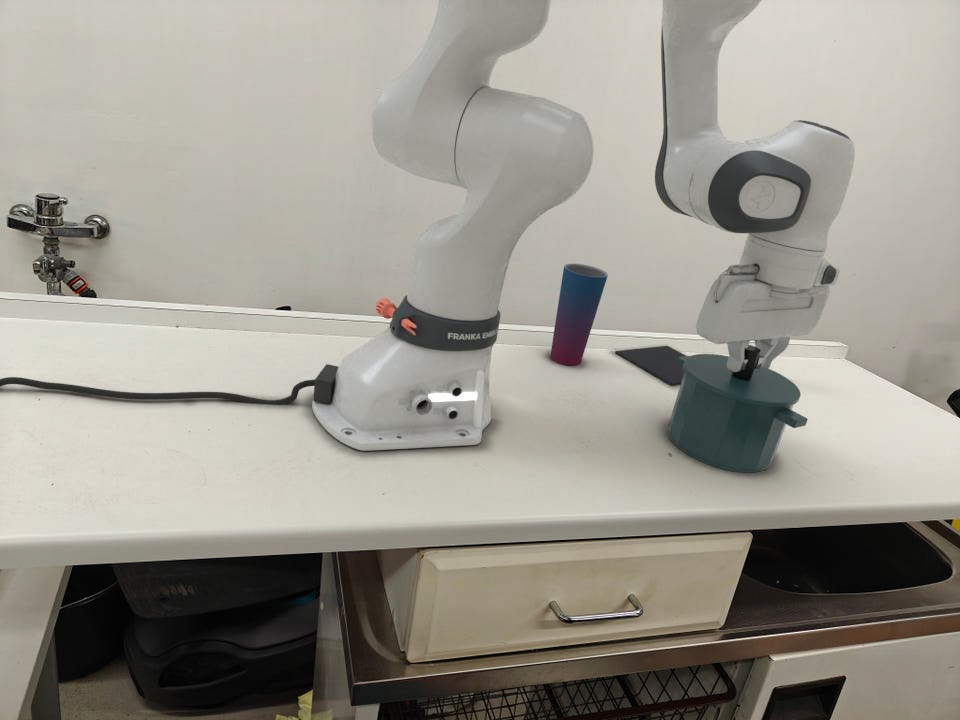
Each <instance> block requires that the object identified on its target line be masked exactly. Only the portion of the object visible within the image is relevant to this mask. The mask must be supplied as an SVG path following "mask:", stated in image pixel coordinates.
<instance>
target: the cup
mask: <svg viewBox="0 0 960 720" xmlns="http://www.w3.org/2000/svg"><path fill="white" fill-rule="evenodd" d="M608 276H609V274H608V273H607V271H605V270H604V269H601V268H599V267H595V266H592V265H588V264H583V263H565V264H564V265H563V271H562V277H561V284H560V289H559V290H560V291H559V296H558V297H559V298H558V302H557V303H558V304H557V309H556V315H555V323H554V329H553V336H552V343H551V347H550V355H549V356H550V359H551V360H552V361H553V362H556V363H557V364H560V365H564V366H569V367H575V366H579V365H581V363H582V361H583V357H584V354H585V350H586V347H587V344H588V340H589V337H590V335H591V332H592V327H593V325H594V321H595V318H596V315H597V312H598V308H599V306H600V302H601V298H602V296H603V293H604V289H605V286H606V283H607V279H608Z"/></svg>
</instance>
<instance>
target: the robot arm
mask: <svg viewBox="0 0 960 720" xmlns="http://www.w3.org/2000/svg"><path fill="white" fill-rule="evenodd" d="M661 1H662V11H661V12H662V13H661V32H660V33H661V34H660V61H661V89H662V116H663V117H662V118H663V119H662V121H663V126H662V127H663V128H662V129H663V130H662V140H661V144H660V149H659V153H658V156H657V160H656V165H655V171H654V186H655V189H656V192H657V196H658V197H659V199H660V200H661V202H662V203H663V205H664V206H665V207H666V208H668V209H669V210H670V211H672V212H674V213H676V214H679V215H682V216H683V215H684V216H686V217H689V218H693V219H696V220H698V221H700V222H703V223H704V224H706V225H709V226H712V227H714V228H717V229H719V230H721V231H724V232H727V233H732V234H747V237H746V240H745V243H744V246H743V249H742V252H741V256H740V259H739V262H738V264H731V265H728V267H727V268H726V269H725V270H724V271H723V272H722V273H720V274H719V275H718V277H717V278H716V279H715V280H714V281H713V283H712V285H711V286H710V288H709V290H708V292H707V295H706V297H705V299H704V301H703V304H702V307H701V308H700V312H699V315H698V317H697V320H696V324H695V329H696V333H697V335H698V336H700V337H701V338H703V339H705V340H707V341H709V342H711V343H713V344H716V345H723V344H726V345H727V351H728V352H727V353H728V356H729V358H728V361H727V364H726V367H727V368H728V369H729V370H731V371H733V372H740V371H744V370H745V366H746V364H747V361H748V359H746V358H744V349H745V348H747V347H748V345H750V342H752V341H753V342H755V341H754V340H759V341H758V343H757V344H756V346H755V345H754V347H757V348H759V349H760V354H759V357H758V360H757V363H756V366H755V369H761V368H763V366H764V363H765V360H766V357H767V356H768V355H769V354H770V353H771V351H772V350H773V349H774V348H775V346H776V345H777V343H778V340H779V338H782V337H800V336H808V335H810V334H811V333H812V332H813V331H814V330H815V328H816V327H817V325H818V324H819V321H820V320H821V317H822V316H823V312H824V310H825V307H826V305H827V302H828V300H829V296H830V292H831V288H830V286H833V285H835V284H836V282H837V281H838V278H839V276H840V269H839V268H838V267H837V266H836V265H834V264H833V263H831V262H830V261H828V260H827V259H826V258H824V256H825V253H826V250H827V247H828V234H829V231H830V229H831V226H832V224H833V223H834V221H835V220H836V219H837V217H838V215H839V214H840V211H841V208H842V205H843V203H844V200H845V197H846V194H847V191H848V188H849V184H850V180H851V177H852V172H853V170H854V169H853V168H854V163H855V144H854V142H853V141H852V140H851V138H850V136H848V135H847V134H845V133H843V132H842V131H841V130H837V129H835V128H833V127H830V126H827V125H823V124H820V123H817V122H814V121H809V120H802V119H801V120H800V119H798V120H793V121H791V122H789V123H788V125H786V126H785V127H784V128H782V129H780V130H777V131H775V132H773V133H770V134H767V135H765V136H762V137H758V138H755V139H750V140H749V139H748V140H745V141H744V142H742V141H734V140H730V139H728V138H727V137H726V135H724V133H723V131H722V130H721V127H720V125H719V121H718V120H719V119H718V117H719V116H718V112H719V111H718V109H719V108H718V107H719V106H718V105H719V101H718V99H719V98H718V97H719V96H718V95H719V92H718V90H719V89H718V86H719V85H718V83H719V81H718V80H719V57H720V53H721V49H722V46H723V45H724V42H725V40H726V39H727V37H728V36H729V34H730V33H731V32H732V30H733V29H734V28H735V27H736V26H737V25H738V24H740V23H741V22H742V21H743V20H745V19H746V18H747V17H748V16H750V14H751V13H752V12H753V11H754V10H755V9H756V8H757V7H758V6H759V5H760V3H761V2H762V1H763V0H661ZM551 2H552V0H438V5H437V10H436V14H435V18H434V20H433V24H432V27H431V29H430V32H429V35H428V37H427V40H426V41H425V43H424V45H423V47H422V49H421V50H420V52H419V53H418V55H417V56H416V58H415V59H414V60H413V62H412V63H411V64H410V65H409V67H407V68H406V70H404V71H403V72H402V73H400V74H399V75H398V76H396V77H395V78H393V79H392V80H391V81H389V82H388V83H387V84H386V85H385V86H384V87H383V89H382V90H381V91H380V93H379V94H378V96H377V98H376V100H375V102H374V104H373V107H372V111H371V119H370V130H371V136H372V140H373V143H374V147H375V149H376V151H377V153H378V155H379V156H380V157H381V158H382V159H383V160H384V161H386V162H388V163H390V164H392V165H393V166H394V167H397V168H399V169H400V170H403V171H404V172H407V173H409V174H411V175H413V176H415V177H418V178H423V179H426V180H430V181H435V182H438V183H441V184H447V185H450V186H455V187H458V188H462V189H463V188H464V189H465V190H466V195H465V200H464V204H463V206H462V208H461V210H460V212H459V213H458V214H455V215H451V216H447V217H444V218H442V219H439V220H436V221H434V222H432V223H430V224H428V225H427V226H425V227H424V228H423V229H422V230H421V231H420V232H419V233H418V235H417V237H416V239H415V241H414V243H413V249H412V256H411V263H410V272H409V280H408V288H407V294H406V295H405V296H404V297H403V298H402V300H401V302H400V304H399V305H398V306H396V304H394V303H393V302H391V301H390V299H388V298H385V297H382V298H380V299H379V300H378V301H377V302H376V303H375V304H376V305H375V306H374V307H375V311H376V312H377V314H379V315H381V316H382V317H383V318H384V319H386V320H389V319H391V321H390V323H389V327H387V328H385V329H384V330H382V331H381V332H380V333H378V334H377V335H375V337H373V338H371V339H370V340H368V341H367V342H365V343H364V344H363V345H361V346H359V347H358V348H356V349H355V350H353V351H352V352H350V353H349V354H346V355H345V356H344V357H343V358H342V360H341V361H340V363H339V365H333V364H327V363H326V364H325V365H324V367H323V368H322V369H321V371H320V372H319V373H318V375H317V376H316V377H315V378H314V379H306V380H303V381H300V382H298V383H296V384H295V385H294V386H293V388H292V390H291V393H290V395H289V396H286V397H285V398H280V399H262V398H256V397H252V396H247V395H242V394H237V393H233V392H224V391H183V392H182V391H180V392H179V391H178V392H133V391H131V392H129V391H119V390H112V389H111V390H110V389H102V388H97V387H91V386H83V385H77V384H70V383H62V382H61V383H59V382H48V381H41V380H37V379H31V378H26V377H18V376H9V377H2V378H0V387H2V386H7V385H19V386H27V387H32V388H36V389H43V390H51V391H52V390H53V391H61V392H62V391H63V392H69V393H70V392H72V393H78V394H85V395H92V396H98V397H104V398H113V399H121V400H123V399H124V400H140V401H141V400H142V401H144V400H146V401H162V400H163V401H164V400H190V399H191V400H193V399H219V400H229V401H236V402H240V403H247V404H255V405H256V404H257V405H267V406H269V405H270V406H271V405H272V406H285V405H288V404H291V403H293V402H295V400H297V398H298V396H299V393H300V391H301V390H302V389H305V388H308V387H313V397H312V403H311V409H312V411H313V414H314V416H315V418H316V420H317V421H318V422H319V424H320V425H321V426H322V427H323V428H324V430H325V431H326V432H328V433H329V434H330V436H332V437H333V438H335V439H336V440H337V441H339V442H340V443H342V444H344V445H346V446H348V447H350V448H352V449H355V450H358V451H364V452H365V451H366V452H367V451H385V450H387V451H388V450H405V449H406V450H407V449H422V448H423V449H424V448H443V447H461V446H463V447H464V446H475V445H479V444H481V442H482V438H483V437H482V435H483V431H484V430H485V429H486V428H487V427H488V425H489V424H490V423H491V421H492V409H491V402H490V401H491V400H490V375H491V360H492V352H493V346H494V345H495V343H496V342H497V339H498V333H499V330H500V329H499V328H500V321H501V311H500V310H499V306H500V303H501V302H500V301H501V296H502V291H503V287H504V284H505V279H506V275H507V271H508V268H509V264H510V260H511V258H512V255H513V252H514V250H515V248H516V246H517V244H518V242H519V241H520V240H521V237H522V236H523V234H524V233H525V232H526V231H527V229H528V228H529V227H530V226H531V225H532V224H533V223H534V222H535V221H536V220H537V219H538V218H539V217H541V216H542V215H543V214H545V213H547V212H548V211H550V210H551V209H554V208H555V207H557V206H559V205H562V204H564V203H565V202H567V201H568V200H569V199H570V200H571V198H572V197H574V196H575V194H577V193H578V192H579V190H580V189H582V186H583V185H584V184H585V182H586V181H587V179H588V177H589V175H590V172H591V168H592V165H593V160H594V138H593V135H592V132H591V129H590V126H589V124H588V122H587V120H586V119H585V117H584V116H583V114H581V113H579V112H577V111H575V110H573V109H571V108H569V107H567V106H565V105H562V104H559V103H557V102H554V101H553V100H550V99H547V98H545V97H541V96H537V95H531V94H525V93H520V92H515V91H510V90H504V89H499V88H494V87H491V86H490V80H491V76H492V73H493V70H494V68H495V66H496V64H497V62H499V59H500V58H501V57H503V56H505V55H508V54H511V53H513V52H515V51H518V50H520V49H522V48H525V47H526V46H528V45H530V44H531V43H533V42H534V41H535V40H536V39H537V38H539V36H540V35H541V34H542V32H543V31H544V29H545V27H546V25H547V23H548V21H549V16H550V15H549V14H550V8H551V4H552V3H551Z"/></svg>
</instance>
